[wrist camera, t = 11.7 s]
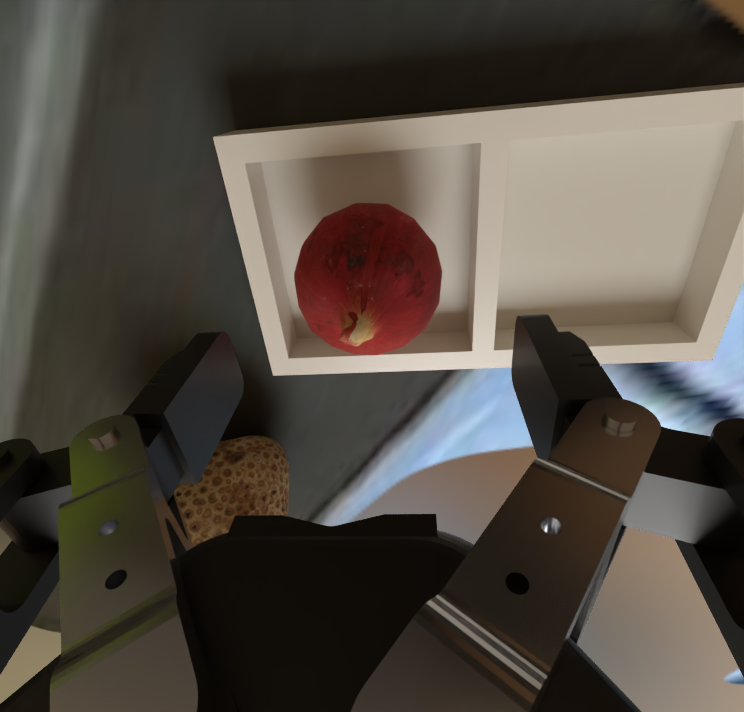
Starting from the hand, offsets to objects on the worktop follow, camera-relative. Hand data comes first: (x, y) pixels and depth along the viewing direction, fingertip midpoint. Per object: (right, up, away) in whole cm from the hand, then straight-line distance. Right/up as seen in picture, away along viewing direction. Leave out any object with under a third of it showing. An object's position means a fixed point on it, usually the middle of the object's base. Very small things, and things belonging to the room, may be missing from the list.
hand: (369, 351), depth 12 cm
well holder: (+5, +5, +8) cm, 11 cm away
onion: (0, +5, +8) cm, 10 cm away
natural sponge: (-9, -6, +17) cm, 20 cm away
